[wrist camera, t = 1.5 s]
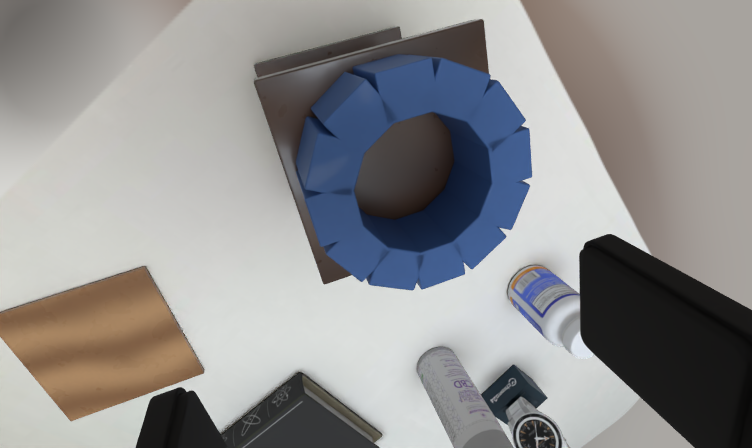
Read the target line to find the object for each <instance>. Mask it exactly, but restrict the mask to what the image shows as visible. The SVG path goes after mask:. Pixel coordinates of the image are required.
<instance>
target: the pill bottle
mask: <svg viewBox="0 0 752 448" xmlns="http://www.w3.org/2000/svg"><path fill="white" fill-rule="evenodd" d="M508 297H509V300H510V302H511V303H512V304H513V305H514V307H515V308H516V309H517V310H518V311H519V312H520V313H521V314H522V315H523V316H524V317H525V318H526V319H527V320H528V321H529V322H530V323H531V324H532V325H533V326H534V327H535V328H536V329H537V330H538V331H539V332H540V333H541V334H542V335H543V336H544V337H545V338H546V339H547V340H548V341H549V342H550V343H551V344H553V345H556V346H560V347H565V349H566V350H568V351H569V352H570V353H571V354H572V355H573V356H574V357H576V358H579V359H585V358H589V357H591V356H593V355H595V354H594V353H592V352H591V351H590V350H589V349H588V348H587V347H586V345H585V344H584V342H583V340H582V338H581V334H580V294H579V293H577V292H576V291H575V290H574V289H572V288H571V287H570V286H568V285H567V284H566V283H565V282H563V281H562V280H561V279H560V278H558V277H557V276H556V275H554V274H553V273H552V272H551V271H549V270H548V269H546V268H545V267H542V266H537V265H534V266H529V267H526V268H524V269H522V270H521V271H519V272H518V273H517V274H516V275H515V276H514V278H513V279H512V281H511V283H510V285H509V289H508Z"/></svg>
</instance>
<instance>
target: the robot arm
mask: <svg viewBox="0 0 752 448" xmlns="http://www.w3.org/2000/svg"><path fill="white" fill-rule="evenodd" d="M579 262H580V334H581V338H582V340H583V342H584V344H585V345H586V347H587V348H588V349H589V350H590V351H591V352H592V353H594V354H595V355H596V356H597V357H598V358H599V359H600V360H601V361H602V362H603V363H604V364H605V365H606V366H608V367H609V368H610V369H611V370H612V371H613V372H614V373H615V374H616V375H617V376H618V377H619V378H620V379H621V380H623V381H624V382H625V383H626V384H627V385H628V386H629V387H630V388H631V389H632V390H633V391H634V392H635V393H637V394H638V395H639V396H640V397H641V398H642V399H643V400H644V401H645V402H646V403H647V404H648V405H649V406H651V407H652V408H653V409H654V410H655V411H656V412H657V413H658V414H659V415H660V416H661V417H662V418H663V419H665V420H666V421H667V422H668V423H669V424H670V425H671V426H672V427H673V428H674V429H675V430H676V431H677V432H679V433H680V434H681V435H682V436H683V437H684V438H685V439H686V440H687V441H688V442H689V443H690V444H691V445H692V446H693V447H695V448H752V310H751V309H749V308H747V307H745V306H743V305H741V304H740V303H738V302H736V301H734V300H732V299H730V298H729V297H727V296H725V295H723V294H721V293H719V292H718V291H716V290H714V289H712V288H710V287H708V286H706V285H705V284H703V283H701V282H699V281H697V280H696V279H693V278H692V277H690V276H688V275H686V274H684V273H682V272H681V271H679V270H677V269H675V268H674V267H672V266H670V265H668V264H666V263H664V262H662V261H661V260H659V259H657V258H655V257H653V256H651V255H650V254H648V253H646V252H644V251H642V250H640V249H639V248H637V247H635V246H633V245H631V244H629V243H628V242H626V241H624V240H622V239H620V238H618V237H617V236H615V235H612V234H607V235H604V236H601V237H598V238H596V239H593V240H590V241H588V242H586V243H585V245H584V248H583V250H581V252H580V255H579ZM136 448H228V446H227V445H226V443H225V441H224V440H223V438H222V436H221V435H220V433H219V431H218V430H217V428H216V426H215V425H214V423H213V421H212V420H211V418H210V416H209V415H208V413H207V411H206V409H205V408H204V406H203V404H202V403H201V401H200V399H199V398H198V396H197V394H196V393H195V392H194V391H189V392H186V391H185V389H183V388H182V387H180V388H176V389H174V390H171V391H168V392H165V393H162V394H160V395H157V396H154V397H153V398H152V399H151V400H150V402H149V405H148V408H147V412H146V415H145V418H144V422H143V425H142V428H141V432H140V435H139V438H138V442H137V445H136Z"/></svg>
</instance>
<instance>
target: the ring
mask: <svg viewBox="0 0 752 448" xmlns="http://www.w3.org/2000/svg"><path fill="white" fill-rule="evenodd" d="M353 73H354V75H353V74H350V73H347V72H344V73H343V74H342V75H341V76H340V77H339V78H338V79H337V80H336V81H335V82H334V84H333V85H332V86H331V87H330V88H329V89H328V90H327V91H326V92H325V93H324V94H323V95H322V96H321V97H320V98H319V100H318V101H317V102H316V103H315V104H314V105H313V106H312V107H311V110H312V111H313V113H314V114H315V115H316V116H317V118H318V119H317V118H313V117H309V116H307V117H306V119H305V124H304V128H303V132H302V137H301V141H300V145H299V150H298V154H297V159H296V165H297V168H298V171H296V174H297V177H298V180H299V183H300V187H301V190H302V193H303V196H304V199H305V202H306V205H307V208H308V211H309V214H310V217H311V220H312V223H313V226H314V229H315V232H316V235H317V238H318V241H319V244H320V246H321V247H324V250H325V253H326V255H328V256H329V257H330V258H331V259H333V260H334V261H335V262H336V263H338V264H339V265H340V266H342V267H343V268H344V269H345V270H347V271H348V272H349V273H350V274H352V275H353V276H354V277H356V278H357V279H358V280H359V281H361V282H362V281H364V280H365V279H367V281H368V283H369V285H373V286H381V287H390V288H398V289H406V290H414V288H415V285H416V283H417V284H418V285H419V287H420V288H421V289H425V288H428V287H431V286H433V285H436V284H439V283H442V282H445V281H447V280H450V279H453V278H456V277H459V276H461V275H464V274H465V269H464V263H465V264H466V265H467V266H468V267H469V268H470V269H473V268H474V267H475V266H476V265H478V264H479V263H480V262H481V261H482V260H483V259H484V258H485V257H486V256H487V255H488V254H489V253H490V252H491V251H492V250H493V249H494V248H495V247H496V246H498V245H499V244H500V243H501V242H502V241H503V240H504V239H505V238H506V235H505V234H504V233H503V232H502V231H501V229H500V228H504V229H509V230H511V229H512V228H513V225H514V223H515V220H516V218H517V216H518V213H519V211H520V209H521V206H522V204H523V202H524V199H525V197H526V194H527V192H528V190H529V187H530V185H529V184H527V183H525V182H524V181H522V180H525V179H528V178H531V177H532V166H531V149H530V133H529V128H526V127H523V126H521V125H522V124H523V123H524V122H525V121H526V120H525V118H524V117H523V115H522V114H521V112H520V111H519V109H518V108H517V107H516V105H515V104H514V102H513V101H512V99H511V98H510V97H509V95H508V94H507V92H506V91H505V90H504V88H503V87H502V85H501V84H500V82H499V81H497V80H491V79H490V76H491V75H490V74H488V73H485V72H482V71H479V70H476V69H473V68H470V67H467V66H465V65H462V64H459V63H456V62H453V61H450V60H447V59H444V58H438V57H428V56H418V55H401V54H397V55H394V56H390V57H386V58H383V59H379V60H375V61H372V62H368V63H365V64H361V65H357V66H354V67H353ZM430 112H433V113H435V114H436V115H437V116H438V117H439V118H440V120H441V121H442V122H443V123H444V124H445V125H446V127H447V128H448V129H449V130H450V134H451V141H452V147H453V154H454V164H453V167H452V170H451V172H450V175H449V178H448V181H447V184H446V186H445V189H444V190H443V191H442V192H441V193H440V194H439V195H438V196H437V197H436V198H435V199H434V200H433V201H432V202H431V203H430V204H429V205H428V206H427V207H426V208H425V209H424V210H423V211H420V212H417V213H414V214H411V215H408V216H405V217H402V218H399V219H396V220H393V219H388V218H382V217H377V216H371V215H367V214H366V213H365V212H364V211H363V210H362V209H360V208H359V207H358V203H357V200H356V196H355V192H354V189H355V185H356V182H357V178H358V175H359V171H360V168H361V164H362V161H363V157H364V153H365V152H366V151H367V150H368V149H369V148H370V147H371V146H372V145H373V144H374V143H375V142H376V141H377V140H378V139H379V138H380V137H381V136H382V135H383V134H384V133H385V132H386V131H387V130H388V129H389V128H390V127H391V126H392V125H393V124H394V123H397V122H400V121H403V120H407V119H410V118H413V117H417V116H420V115H424V114H427V113H430ZM463 262H464V263H463Z"/></svg>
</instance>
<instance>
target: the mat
mask: <svg viewBox="0 0 752 448" xmlns="http://www.w3.org/2000/svg"><path fill="white" fill-rule="evenodd" d="M0 337H1V338H2V339H3V340H4V342H5V343H6V344H7V345H8V346H9V348H10V349H11V350H12V351H13V352H14V354H15V355H16V356H17V357H18V358H19V360H20V361H21V362H22V363H23V365H24V366H25V367H26V368H27V369H28V371H29V372H30V373H31V374H32V375H33V377H34V378H35V379H36V380H37V381H38V383H39V384H40V385H41V386H42V387H43V389H44V390H45V391H46V392H47V393H48V395H49V396H50V397H51V398H52V399H53V401H54V402H55V403H56V404H57V405H58V407H59V408H60V409H61V410H62V411H63V413H64V414H65V415H66V416H67V417H68V419H69V420H70V421H73V420H76V419H78V418H81V417H84V416H87V415H90V414H92V413H95V412H98V411H101V410H103V409H106V408H109V407H112V406H115V405H117V404H120V403H123V402H126V401H128V400H131V399H134V398H137V397H139V396H142V395H145V394H148V393H151V392H153V391H156V390H159V389H162V388H164V387H167V386H170V385H173V384H176V383H178V382H181V381H184V380H187V379H189V378H192V377H195V376H198V375H201V374H203V373H204V369H203V367H202V365H201V364H200V362H199V360H198V358H197V357H196V355H195V353H194V351H193V350H192V348H191V346H190V344H189V343H188V341H187V339H186V337H185V336H184V334H183V332H182V330H181V329H180V327H179V325H178V323H177V322H176V320H175V318H174V316H173V314H172V313H171V311H170V309H169V307H168V306H167V304H166V302H165V300H164V299H163V297H162V295H161V293H160V292H159V290H158V288H157V286H156V285H155V283H154V281H153V279H152V278H151V276H150V274H149V272H148V270H147V269H146V267H145V266H144V267H141V268H137V269H134V270H131V271H128V272H125V273H122V274H119V275H116V276H112V277H109V278H106V279H103V280H100V281H97V282H94V283H90V284H87V285H84V286H81V287H78V288H75V289H72V290H69V291H65V292H62V293H59V294H56V295H53V296H50V297H47V298H43V299H40V300H37V301H34V302H31V303H28V304H25V305H22V306H18V307H15V308H12V309H9V310H6V311H3V312H0Z"/></svg>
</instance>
